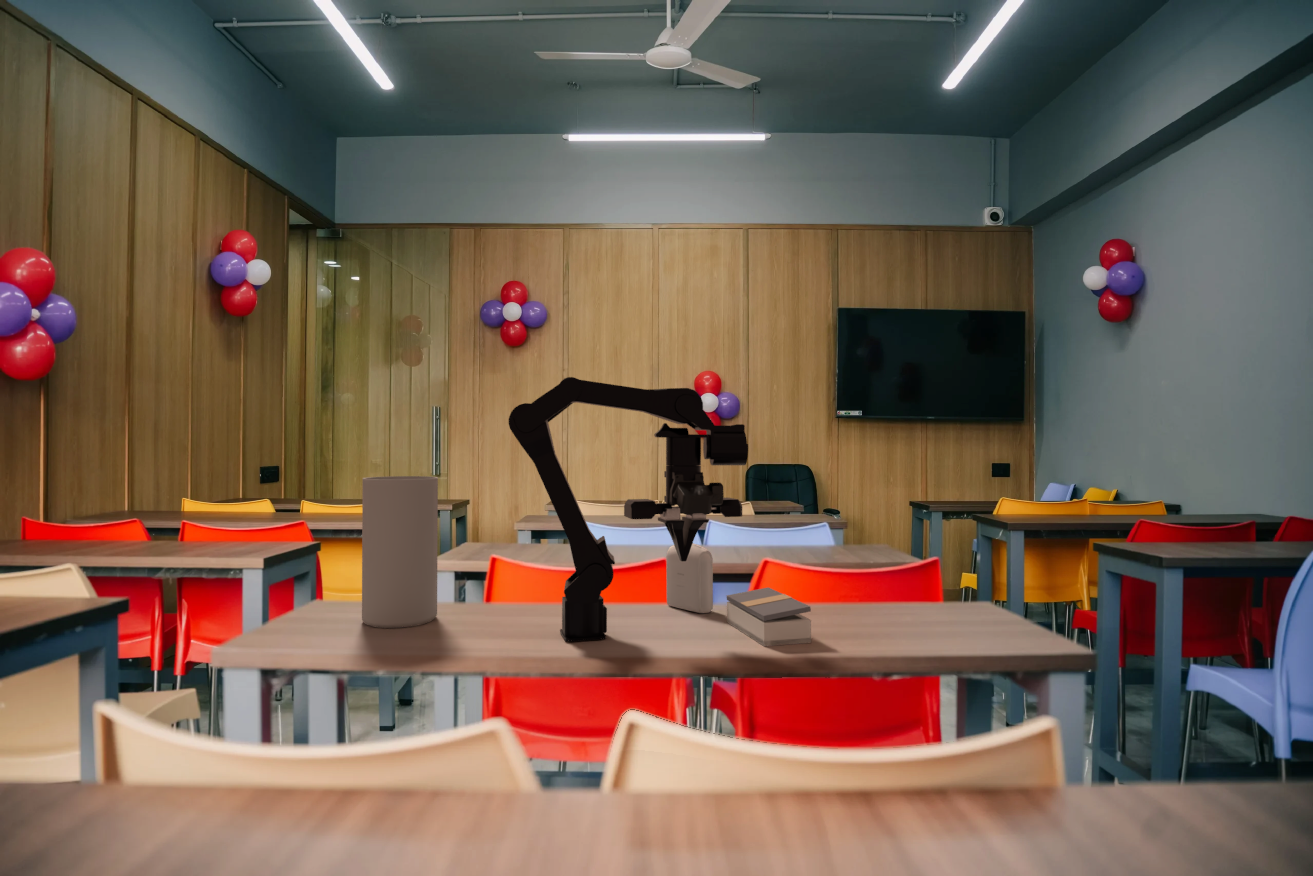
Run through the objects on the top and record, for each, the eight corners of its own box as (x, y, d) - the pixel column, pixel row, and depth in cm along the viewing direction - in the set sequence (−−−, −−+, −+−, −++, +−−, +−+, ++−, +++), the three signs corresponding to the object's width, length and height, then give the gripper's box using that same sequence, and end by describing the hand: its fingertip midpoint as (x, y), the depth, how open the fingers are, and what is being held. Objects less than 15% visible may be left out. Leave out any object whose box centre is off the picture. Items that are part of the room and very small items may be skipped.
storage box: (764, 646, 117) (764, 623, 117) (726, 622, 133) (726, 601, 133) (811, 642, 119) (811, 619, 119) (769, 619, 135) (769, 599, 135)
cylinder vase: (390, 610, 141) (391, 475, 141) (450, 614, 138) (451, 476, 138) (346, 626, 129) (346, 478, 129) (410, 631, 126) (411, 480, 126)
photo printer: (663, 605, 146) (663, 541, 146) (679, 602, 149) (680, 539, 149) (699, 615, 138) (699, 547, 138) (716, 612, 141) (716, 545, 141)
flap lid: (764, 621, 117) (763, 615, 117) (726, 600, 133) (726, 594, 133) (810, 611, 119) (810, 605, 119) (768, 591, 135) (768, 586, 135)
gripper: (640, 467, 114) (640, 571, 114) (755, 467, 119) (755, 566, 119) (623, 465, 125) (623, 560, 125) (730, 464, 130) (729, 556, 130)
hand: (683, 561), depth 124 cm, fingers closed
